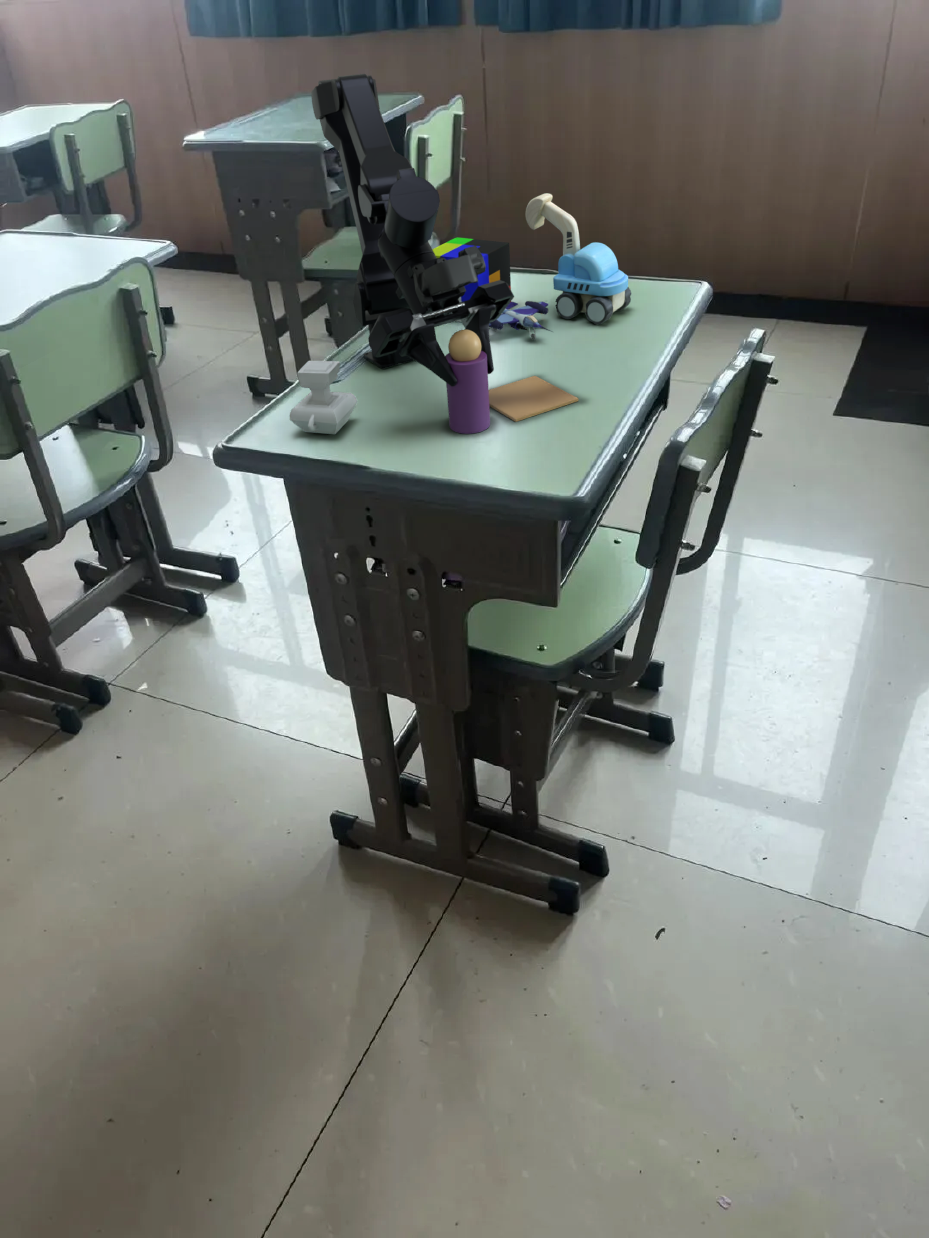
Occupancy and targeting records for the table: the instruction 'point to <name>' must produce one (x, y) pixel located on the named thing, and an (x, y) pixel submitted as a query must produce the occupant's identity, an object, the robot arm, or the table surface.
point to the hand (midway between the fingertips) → (473, 378)
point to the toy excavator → (581, 268)
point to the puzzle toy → (493, 257)
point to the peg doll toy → (468, 384)
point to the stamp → (322, 399)
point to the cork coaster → (528, 398)
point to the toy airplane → (521, 317)
